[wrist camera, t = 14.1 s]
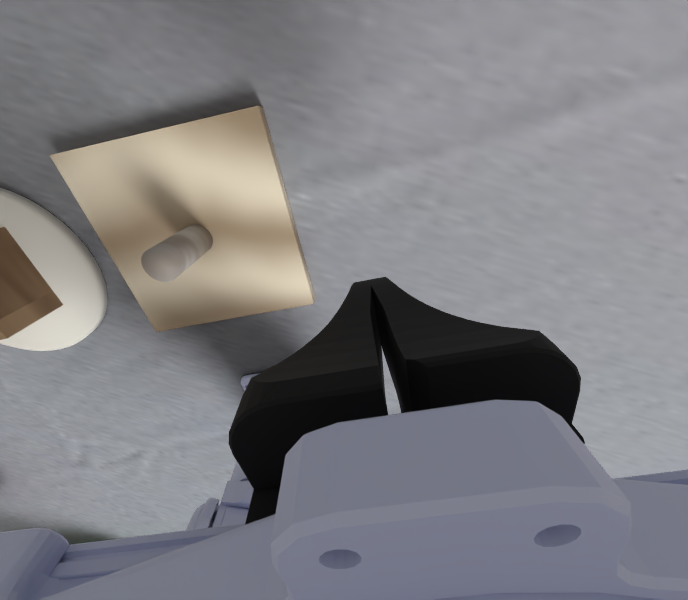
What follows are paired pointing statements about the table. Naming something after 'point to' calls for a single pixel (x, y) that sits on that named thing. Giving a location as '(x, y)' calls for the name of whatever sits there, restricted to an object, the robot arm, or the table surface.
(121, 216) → the birch stand
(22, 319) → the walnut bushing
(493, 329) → the robot arm
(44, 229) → the cream plate
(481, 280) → the table surface
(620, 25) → the table surface
